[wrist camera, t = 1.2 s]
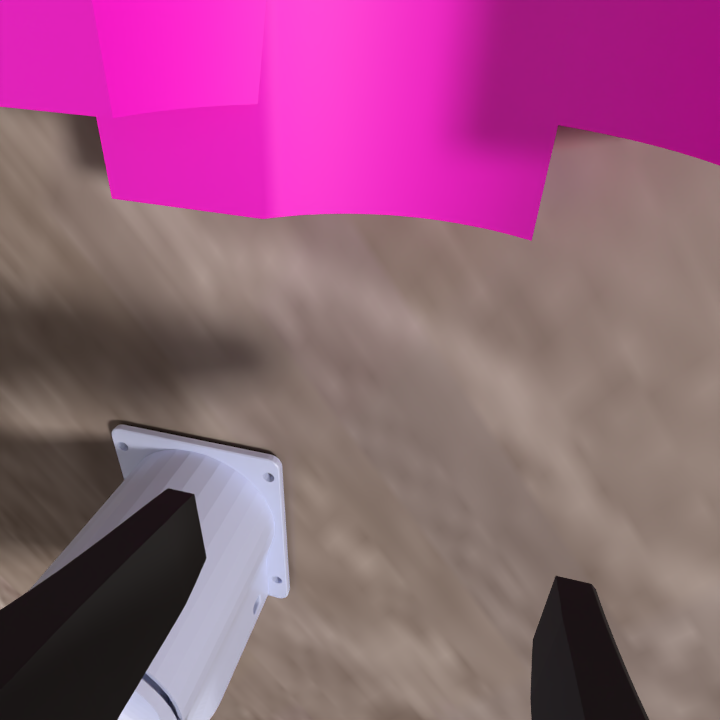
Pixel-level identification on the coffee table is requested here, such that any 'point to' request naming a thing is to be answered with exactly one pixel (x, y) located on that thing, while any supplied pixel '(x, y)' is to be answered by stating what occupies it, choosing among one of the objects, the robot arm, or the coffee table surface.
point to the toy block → (362, 96)
